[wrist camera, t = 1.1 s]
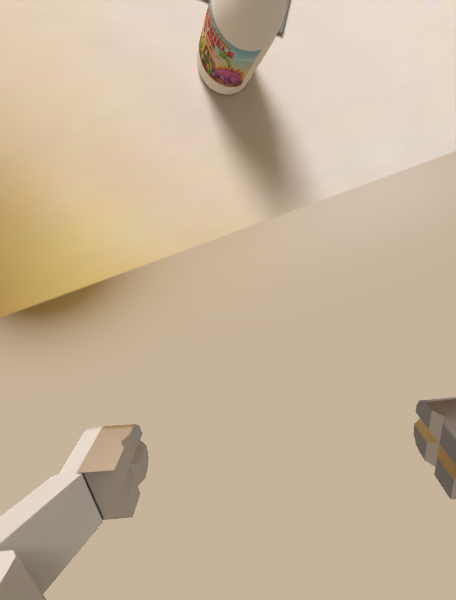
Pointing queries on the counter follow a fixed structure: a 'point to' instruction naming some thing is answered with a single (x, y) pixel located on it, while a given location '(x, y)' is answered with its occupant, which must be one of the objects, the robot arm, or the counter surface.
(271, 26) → the milk bottle
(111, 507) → the robot arm
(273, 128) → the counter surface
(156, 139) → the counter surface
